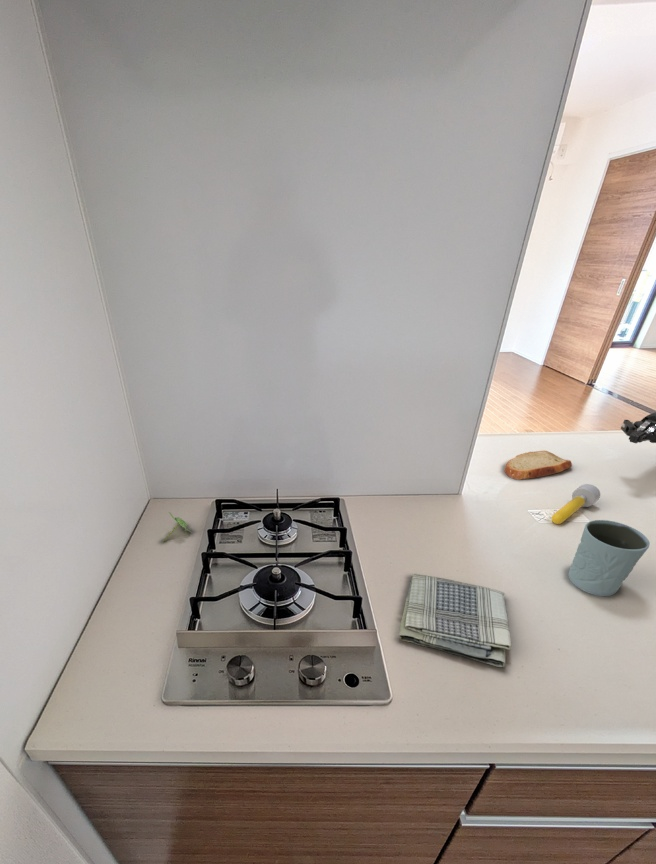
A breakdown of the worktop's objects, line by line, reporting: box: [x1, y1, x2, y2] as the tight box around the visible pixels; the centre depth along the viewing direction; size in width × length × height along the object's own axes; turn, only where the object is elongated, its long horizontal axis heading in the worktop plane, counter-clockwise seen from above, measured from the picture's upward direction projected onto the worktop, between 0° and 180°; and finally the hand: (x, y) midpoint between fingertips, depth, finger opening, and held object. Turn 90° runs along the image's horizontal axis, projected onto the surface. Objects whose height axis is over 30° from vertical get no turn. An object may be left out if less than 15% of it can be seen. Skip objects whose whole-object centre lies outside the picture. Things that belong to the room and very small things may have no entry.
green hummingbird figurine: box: [162, 511, 192, 543], centre depth 104 cm, size 7×8×7 cm
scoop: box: [551, 483, 601, 525], centre depth 108 cm, size 5×5×17 cm
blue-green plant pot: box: [568, 519, 650, 597], centre depth 86 cm, size 10×10×12 cm
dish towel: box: [398, 573, 512, 668], centre depth 80 cm, size 19×18×3 cm
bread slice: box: [504, 450, 573, 481], centre depth 128 cm, size 18×18×4 cm
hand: (634, 439), depth 111 cm, fingers closed
